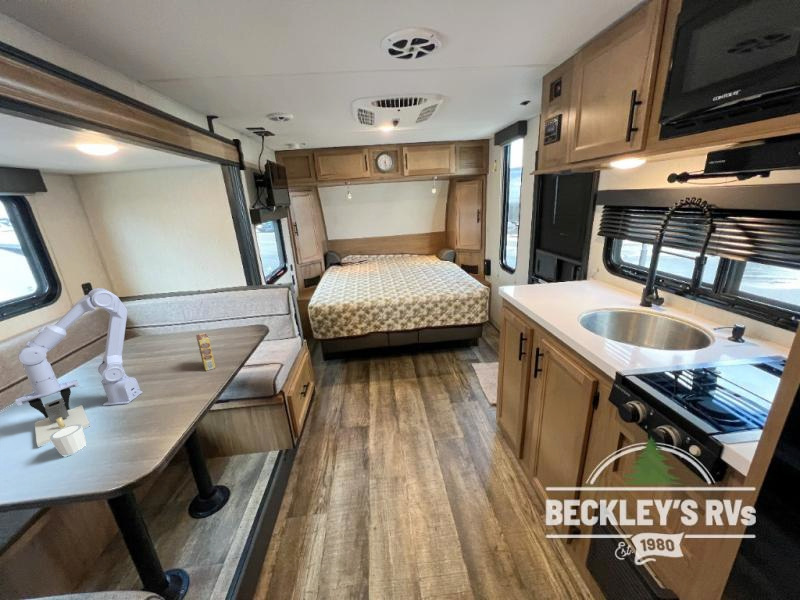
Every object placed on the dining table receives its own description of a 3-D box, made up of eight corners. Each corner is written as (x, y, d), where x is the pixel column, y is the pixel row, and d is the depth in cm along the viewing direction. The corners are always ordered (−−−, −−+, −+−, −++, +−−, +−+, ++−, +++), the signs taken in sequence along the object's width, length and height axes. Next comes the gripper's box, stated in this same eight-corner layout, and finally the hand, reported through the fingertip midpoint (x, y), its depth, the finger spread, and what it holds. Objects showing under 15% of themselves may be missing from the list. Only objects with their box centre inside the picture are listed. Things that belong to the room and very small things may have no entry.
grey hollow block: (49, 416, 109) (44, 404, 108) (67, 410, 113) (62, 398, 111) (51, 422, 106) (45, 410, 104) (69, 415, 109) (63, 403, 107)
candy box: (216, 368, 142) (208, 337, 138) (206, 371, 140) (197, 340, 136) (213, 361, 149) (205, 332, 145) (203, 364, 147) (195, 335, 142)
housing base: (36, 426, 108) (30, 414, 107) (83, 408, 117) (78, 397, 116) (38, 448, 97) (32, 434, 96) (90, 426, 106) (85, 414, 105)
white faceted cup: (95, 441, 99) (88, 422, 97) (74, 457, 92) (65, 438, 90) (74, 443, 98) (65, 424, 97) (51, 459, 92) (42, 440, 90)
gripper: (71, 366, 113) (84, 398, 116) (9, 384, 102) (26, 419, 106) (73, 371, 108) (87, 405, 112) (9, 391, 98) (26, 427, 101)
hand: (57, 412), depth 109 cm, fingers closed on grey hollow block, 4 cm apart
